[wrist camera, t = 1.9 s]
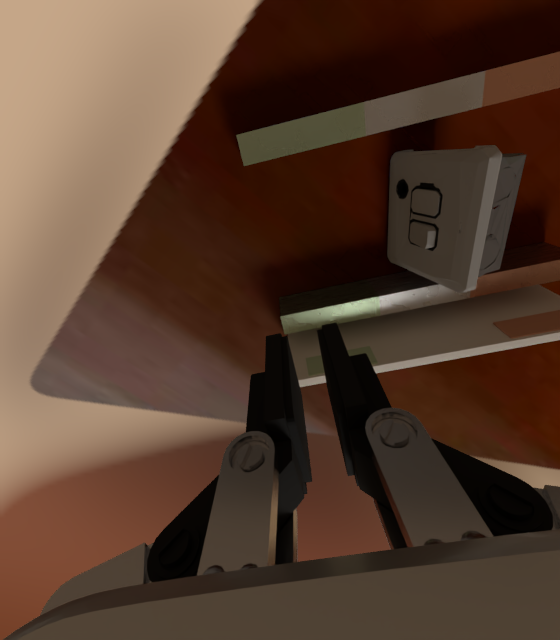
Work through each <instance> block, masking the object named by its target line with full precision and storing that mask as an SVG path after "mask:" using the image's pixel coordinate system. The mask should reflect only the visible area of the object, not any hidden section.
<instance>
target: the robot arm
mask: <svg viewBox="0 0 560 640" xmlns="http://www.w3.org/2000/svg"><path fill="white" fill-rule="evenodd" d="M317 335H318V340H319V345H320V351H321V356H322V362H323V367H324V372H325V378H326V383H327V388H328V393H329V397H330V402H331V406H332V410H333V414H334V419H335V423H336V427H337V432H338V436H339V440H340V444H341V449H342V453H343V456H344V462H345V466H346V470H347V474H348V476H351V475H355V479H356V483H357V486H359V487H360V489H361V490H362V491H364V492H365V493H367V494H368V495H370V496H371V497H373V500H374V504H375V507H376V510H377V512H378V515H379V518H380V520H381V523H382V526H383V529H384V532H385V534H386V537H387V540H388V543H389V546H390V548H391V550H386V551H378V552H370V553H363V554H355V555H347V556H340V557H332V558H325V559H317V560H309V561H302V562H297V510H296V508H297V506H298V505H299V504H300V502H301V501H302V500H303V499H304V494H307V487H306V482H311V481H312V476H311V467H310V459H309V451H308V443H307V434H306V426H305V418H304V410H303V402H302V395H301V390H300V386H299V382H298V378H297V374H296V369H295V365H294V361H293V357H292V353H291V349H290V345H289V341H288V337H287V336H285V337H282V335H281V333H280V334H275V335H270V336H266V359H265V372H262V373H257V374H252V375H251V380H250V391H249V403H248V414H247V427H246V433H244V434H241V435H240V436H238V437H236V438H235V439H234V440H233V441H232V442H231V443H230V444H229V446H228V447H227V448H226V451H225V453H224V457H223V461H222V465H221V470H220V474H219V475H218V476H217V477H216V478H215V479H214V480H213V481H212V482H211V483H210V484H209V485H208V486H207V487H206V488H205V489H204V490H203V491H202V492H201V493H200V494H199V495H198V496H197V497H196V498H195V499H194V500H193V501H192V502H191V503H190V504H189V505H188V506H187V507H186V508H185V509H184V510H183V511H182V512H181V513H180V514H179V515H178V516H177V517H176V518H175V519H174V520H173V521H172V522H171V523H170V524H169V525H168V526H167V527H166V528H165V529H164V530H163V531H162V532H161V533H160V534H159V536H158V537H157V538H156V540H155V542H154V543H152V544H151V545H147V544H146V543H143V544H141V545H139V546H137V547H135V548H133V549H131V550H129V551H127V552H124V553H122V554H120V555H118V556H116V557H114V558H112V559H110V560H108V561H106V562H104V563H102V564H100V565H98V566H96V567H94V568H92V569H90V570H88V571H86V572H84V573H82V574H79V575H77V576H75V577H74V578H72V579H70V580H69V581H67V582H66V583H64V584H63V585H61V586H60V588H59V589H58V590H57V591H56V592H55V593H54V594H53V595H52V596H51V598H50V599H49V600H48V602H47V603H46V605H45V606H44V608H43V610H42V613H41V615H40V616H39V617H37V618H35V619H33V620H32V621H30V622H29V623H27V624H26V625H24V626H22V627H21V628H19V629H17V630H16V631H14V632H13V633H12V634H10V635H9V636H7V637H6V638H5V639H3V640H560V487H557V486H549V485H545V486H544V489H538V488H533V487H531V486H530V485H529V484H527V483H526V482H524V481H522V480H520V479H519V478H517V477H515V476H513V475H510V474H508V473H506V472H504V471H502V470H499V469H497V468H495V467H493V466H491V465H488V464H486V463H484V462H482V461H480V460H478V459H475V458H473V457H471V456H469V455H467V454H464V453H462V452H460V451H458V450H456V449H453V448H451V447H449V446H447V445H445V444H443V443H440V442H438V441H436V440H434V439H432V438H430V436H429V434H428V433H427V431H426V430H425V428H424V427H423V425H422V424H421V422H420V421H419V420H418V419H417V418H416V417H415V416H414V415H412V414H411V413H409V412H407V411H405V410H402V409H398V408H392V407H391V405H390V403H389V401H388V399H387V397H386V394H385V392H384V390H383V388H382V386H381V384H380V381H379V379H378V377H377V375H376V373H375V371H374V368H373V366H372V364H371V362H370V360H369V358H368V356H367V354H366V353H363V354H358V355H353V356H349V354H348V352H347V349H346V346H345V343H344V341H343V338H342V335H341V333H340V330H339V327H338V325H337V323H336V322H335V323H330V324H325V325H322V329H320V330H317Z"/></svg>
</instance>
